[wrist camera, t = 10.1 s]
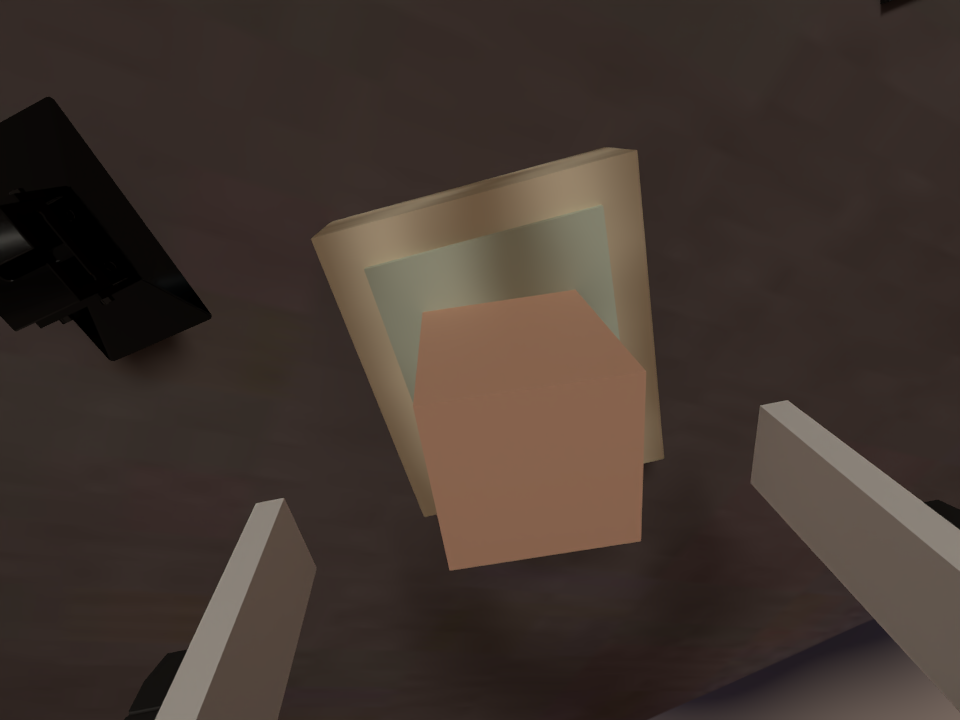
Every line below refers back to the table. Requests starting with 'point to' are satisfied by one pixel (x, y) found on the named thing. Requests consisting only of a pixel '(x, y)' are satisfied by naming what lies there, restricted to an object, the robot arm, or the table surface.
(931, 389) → the table surface
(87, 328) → the black rectangular box
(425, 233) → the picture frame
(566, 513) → the terracotta block
